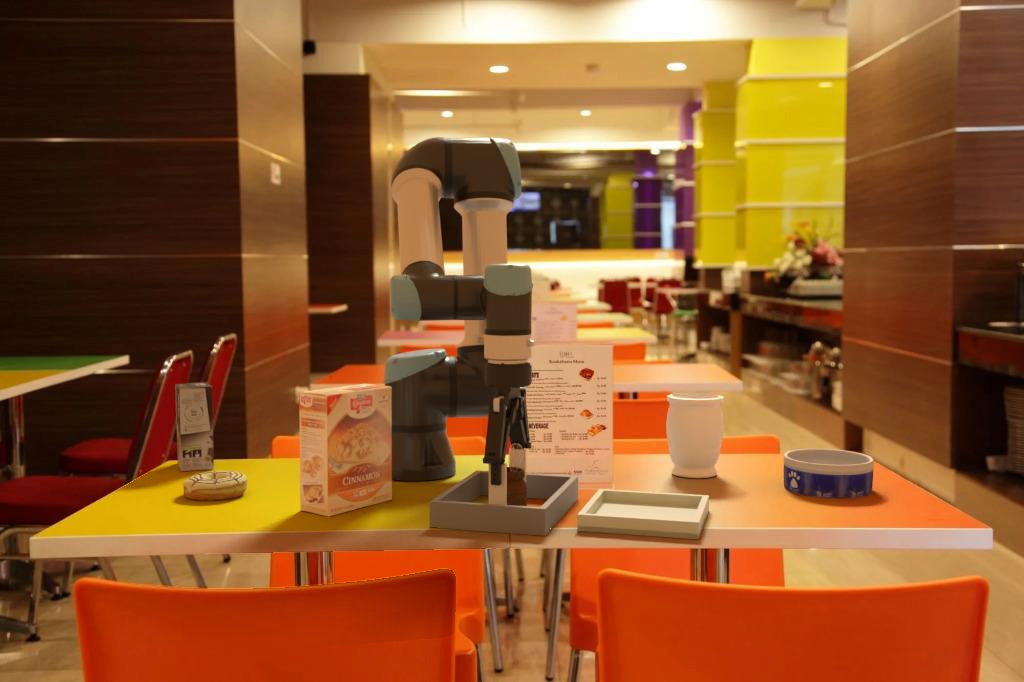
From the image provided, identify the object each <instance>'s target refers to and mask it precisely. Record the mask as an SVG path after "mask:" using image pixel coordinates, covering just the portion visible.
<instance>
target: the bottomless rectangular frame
mask: <svg viewBox="0 0 1024 682" xmlns="http://www.w3.org/2000/svg"><path fill="white" fill-rule="evenodd" d="M526 485H527V499H528V498H529V499H539V500H540V499H542V500H546V501H545V502H544V503H543V504H542V505H541V506H530V505H529V506H528V505H527V506H516V505H500V504H489V503H483V502H482V503H481V502H474V501H475V500H476V499H477V498H478V497H479V496H489V470H475V471H473V472H471V474H469V475H468V476H466V477H464V478H463V479H461V480H460V481H459V482H457V483H456V484H454V485H453V486H451V487H449V488H448V489H447V490H445V491H443V492H442V493H440V494H439V495H437V496H436V497H434V498H433V499H431V500H430V501H429V528H430V527H440V528H439V529H444V528H451V529H450V530H458V529H459V531H461V530H463V531H473V532H475V531H476V532H487V533H488V532H489V533H501V534H517V535H530V536H540V537H541V536H542V537H543V536H544V537H545V536H546V535H548V534H549V532H550V531H551V530H550V528H552V527H553V526H554V525H555V526H556V524H558V522H559V521H560V520H561V519H562V518H563V517H564V516H565V515H566V513H567V512H568V511H570V509H571V508H572V507H573V506H574V505H575V503H577V501H578V500H579V475H566V474H565V475H561V474H547V473H546V474H545V473H527V472H526ZM555 526H554V527H555ZM554 527H553V528H554ZM553 528H552V529H553Z"/></svg>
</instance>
